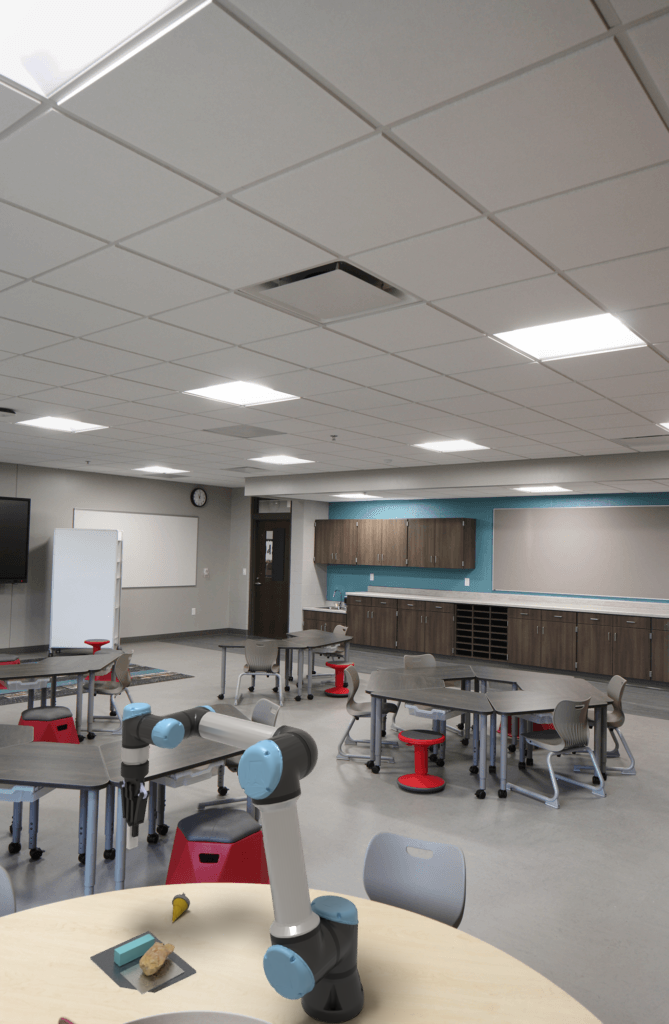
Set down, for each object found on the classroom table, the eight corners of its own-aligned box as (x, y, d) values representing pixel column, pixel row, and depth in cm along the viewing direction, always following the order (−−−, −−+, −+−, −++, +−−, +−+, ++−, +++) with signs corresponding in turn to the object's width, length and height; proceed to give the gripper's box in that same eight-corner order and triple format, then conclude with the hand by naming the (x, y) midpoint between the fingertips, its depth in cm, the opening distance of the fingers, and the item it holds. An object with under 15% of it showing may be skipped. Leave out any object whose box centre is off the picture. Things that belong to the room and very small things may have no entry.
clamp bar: (154, 949, 175) (154, 938, 175) (119, 966, 168) (119, 954, 168) (148, 944, 177) (148, 933, 177) (113, 961, 170) (114, 949, 170)
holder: (196, 974, 167) (196, 970, 167) (135, 1007, 155) (135, 1002, 155) (148, 934, 184) (148, 929, 184) (90, 960, 172) (90, 956, 172)
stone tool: (155, 959, 162) (152, 925, 171) (135, 980, 161) (133, 945, 170) (182, 972, 165) (177, 939, 174) (162, 993, 165) (158, 959, 174)
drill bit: (194, 889, 198) (182, 918, 188) (192, 902, 199) (180, 931, 190) (177, 884, 198) (164, 913, 189) (176, 897, 200) (163, 926, 190)
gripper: (159, 763, 179) (156, 851, 178) (135, 752, 188) (133, 835, 187) (134, 769, 174) (131, 860, 173) (111, 757, 183) (108, 843, 182)
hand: (132, 847), depth 180 cm, fingers closed
